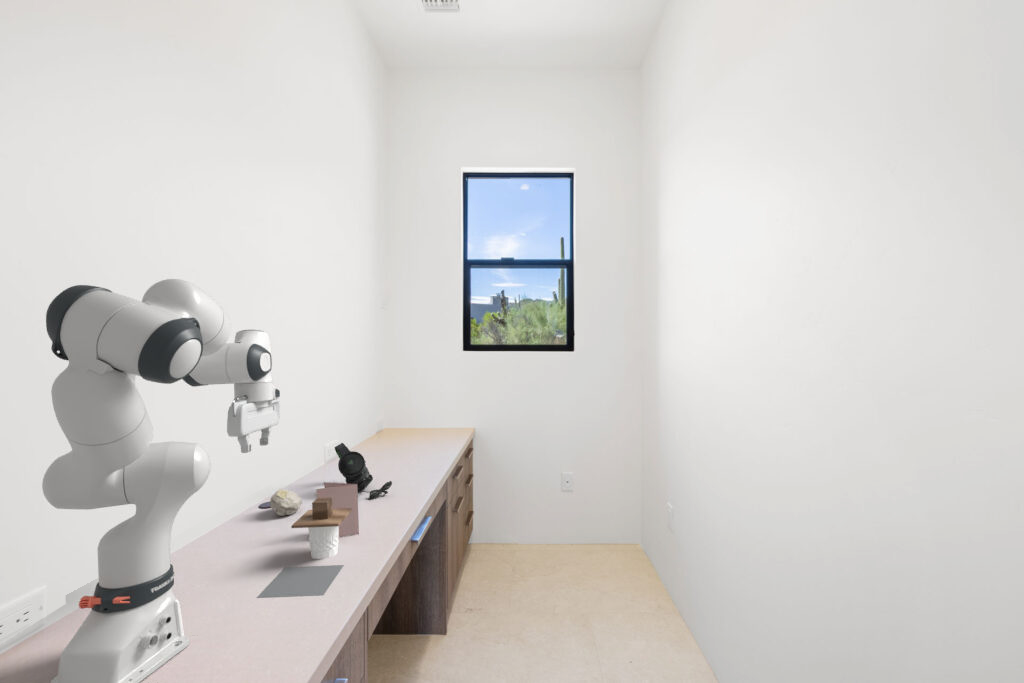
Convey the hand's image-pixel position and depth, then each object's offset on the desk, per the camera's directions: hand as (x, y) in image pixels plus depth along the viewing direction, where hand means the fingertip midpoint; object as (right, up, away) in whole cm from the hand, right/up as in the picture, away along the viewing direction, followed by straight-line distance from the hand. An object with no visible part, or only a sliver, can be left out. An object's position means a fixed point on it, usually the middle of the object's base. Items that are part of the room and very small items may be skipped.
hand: (255, 448), depth 128 cm
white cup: (+14, -31, +8) cm, 35 cm away
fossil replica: (-11, -31, +43) cm, 54 cm away
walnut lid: (+14, -21, +8) cm, 26 cm away
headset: (+7, -31, +66) cm, 73 cm away
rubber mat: (+15, -31, -7) cm, 35 cm away
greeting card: (+13, -31, +21) cm, 40 cm away
